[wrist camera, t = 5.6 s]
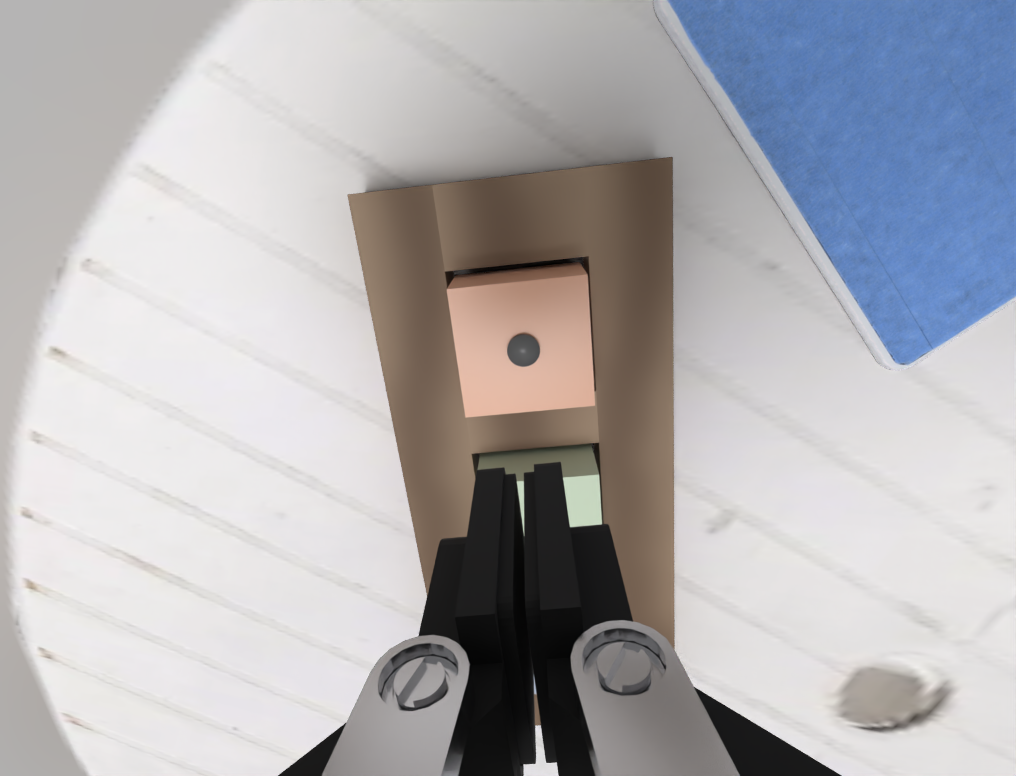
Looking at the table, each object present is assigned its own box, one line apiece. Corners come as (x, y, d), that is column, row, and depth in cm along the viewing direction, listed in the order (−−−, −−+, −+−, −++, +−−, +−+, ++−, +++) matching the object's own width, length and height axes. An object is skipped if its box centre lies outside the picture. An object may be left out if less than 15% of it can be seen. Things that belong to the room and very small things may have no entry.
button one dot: (579, 261, 22) (588, 275, 19) (586, 378, 24) (595, 407, 21) (455, 275, 23) (446, 290, 20) (471, 389, 24) (464, 419, 22)
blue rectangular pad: (638, -1, 21) (646, -13, 20) (961, -299, 18) (993, -333, 17) (877, 372, 26) (894, 382, 25) (1160, 190, 23) (1196, 192, 22)
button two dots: (590, 441, 25) (599, 477, 22) (596, 534, 27) (605, 579, 24) (480, 450, 26) (475, 487, 23) (493, 542, 27) (489, 587, 24)
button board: (656, 158, 23) (672, 156, 20) (663, 678, 32) (674, 717, 30) (364, 192, 23) (347, 194, 21) (458, 691, 33) (453, 730, 31)
